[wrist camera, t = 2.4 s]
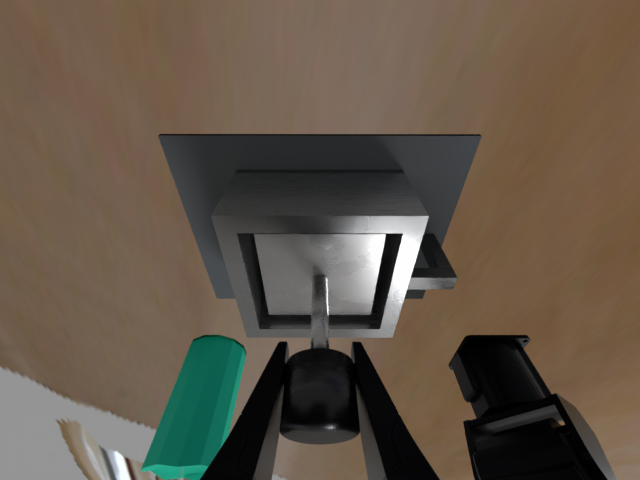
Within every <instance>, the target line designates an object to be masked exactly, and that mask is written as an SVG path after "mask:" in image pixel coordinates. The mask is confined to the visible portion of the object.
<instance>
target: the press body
mask: <svg viewBox="0 0 640 480" xmlns="http://www.w3.org/2000/svg"><path fill="white" fill-rule="evenodd" d="M211 218H212V221H213V225H214V228H215V232H216V235H217V238H218V242H219V245H220V248H221V252H222V255H223V259H224V262H225V265H226V269H227V272H228V275H229V279H230V282H231V286H232V289H233V292H234V296H235V299H236V302H237V306H238V309H239V313H240V316H241V319H242V323H243V326H244V329H245V333H246V336H247V338H311V315H269V312H268V306H267V301H266V296H265V290H264V285H263V280H262V274H261V269H260V264H259V259H258V253H257V248H256V243H255V237H254V233H386V236H385V241H384V247H383V252H382V257H381V262H380V268H379V273H378V278H377V283H376V289H375V294H374V299H373V304H372V310H371V315H328V316H329V338H393V335H394V331H395V328H396V325H397V321H398V318H399V315H400V311H401V308H402V305H403V301H404V298H405V294H406V291H407V289H453V287H454V285H455V283H456V281H457V278H458V277H457V275H456V274H455V272H454V270H453V268H452V266H451V264H450V262H449V261H448V259H447V257H446V255H445V253H444V251H443V249H442V248H441V246H440V244H439V242H438V240H437V238H436V236H435V234H434V233H424V231H425V228H426V224H427V221H428V218H429V215H428V213H427V212H426V210H425V208H424V206H423V205H422V203H421V201H420V199H419V197H418V196H417V194H416V192H415V190H414V188H413V187H412V185H411V183H410V181H409V179H408V178H407V176H406V174H405V172H404V171H403V170H236V172H235V174H234V175H233V177H232V179H231V181H230V183H229V184H228V186H227V188H226V190H225V191H224V193H223V195H222V197H221V199H220V200H219V202H218V204H217V206H216V208H215V209H214V211H213V213H212V215H211ZM419 248H421V250H422V252H423V254H424V257H425V259H426V261H427V263H428V266H429V268H414V264H415V261H416V258H417V254H418V251H419Z"/></svg>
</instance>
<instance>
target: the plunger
mask: <svg viewBox="0 0 640 480" xmlns="http://www.w3.org/2000/svg"><path fill="white" fill-rule="evenodd" d="M385 236H386V233H254V237H255V243H256V248H257V253H258V259H259V264H260V269H261V274H262V280H263V285H264V290H265V296H266V301H267V306H268V312H269V315H311V340H310V349H306V350H302V351H299V352H297V353H295V354H293V355H292V356H291V357H289V359H288V360H287V362H286V370H285V380H284V390H283V400H282V411H281V421H280V434H281V435H282V436H283V437H285V438H287V439H289V440H291V441H295V442H299V443H304V444H316V445H324V444H335V443H341V442H345V441H348V440H351V439H353V438H355V437H356V436H358V435H359V433H360V423H359V413H358V403H357V393H356V383H355V373H354V363H353V361H352V359H351V358H350V357H349V356H348V355H346V354H345V353H343V352H340V351H337V350H334V349H329V316H328V315H371V310H372V304H373V299H374V294H375V289H376V283H377V278H378V273H379V268H380V262H381V257H382V252H383V247H384V241H385Z"/></svg>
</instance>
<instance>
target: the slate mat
mask: <svg viewBox="0 0 640 480" xmlns="http://www.w3.org/2000/svg"><path fill="white" fill-rule="evenodd" d="M481 137H482V136H481V135H480V134H159V135H158V138H159V140H160V143H161V146H162V149H163V151H164V154H165V157H166V160H167V162H168V165H169V168H170V171H171V173H172V176H173V179H174V182H175V185H176V187H177V190H178V193H179V196H180V198H181V201H182V204H183V207H184V209H185V212H186V215H187V218H188V220H189V223H190V226H191V229H192V231H193V234H194V237H195V240H196V243H197V245H198V248H199V251H200V254H201V256H202V259H203V262H204V265H205V267H206V270H207V273H208V276H209V278H210V281H211V284H212V287H213V289H214V292H215V295H216V298H217V299H235V296H234V292H233V289H232V286H231V282H230V279H229V275H228V272H227V269H226V265H225V262H224V259H223V255H222V252H221V248H220V245H219V242H218V238H217V235H216V232H215V228H214V225H213V221H212V218H211V215H212V213H213V211H214V209H215V208H216V206H217V204H218V202H219V200H220V199H221V197H222V195H223V193H224V191H225V190H226V188H227V186H228V184H229V183H230V181H231V179H232V177H233V175H234V174H235V172H236V170H403V171H404V172H405V174H406V176H407V178H408V179H409V181H410V183H411V185H412V187H413V188H414V190H415V192H416V194H417V196H418V197H419V199H420V201H421V203H422V205H423V206H424V208H425V210H426V212H427V213H428V215H429V218H428V221H427V224H426V228H425V231H424V233H434V234H435V236H436V238H437V240H438V242H439V244H440V246H441V247H442V244H443V241H444V239H445V236H446V233H447V230H448V228H449V225H450V222H451V219H452V217H453V214H454V211H455V208H456V206H457V203H458V200H459V198H460V195H461V192H462V189H463V187H464V184H465V181H466V178H467V176H468V173H469V170H470V167H471V165H472V162H473V159H474V156H475V154H476V151H477V148H478V145H479V143H480V140H481ZM414 268H429V266H428V263H427V261H426V259H425V257H424V254H423V252H422V250H421V248H419V251H418V254H417V258H416V261H415V264H414ZM425 291H426V289H407V291H406V294H405V298H404V299H423V296H424V294H425Z"/></svg>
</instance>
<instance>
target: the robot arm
mask: <svg viewBox="0 0 640 480" xmlns="http://www.w3.org/2000/svg"><path fill="white" fill-rule="evenodd" d="M530 341H531V339H530V338H529V336H528V335H468V336H465V337H464V339H463V341H462V342H461V344H460V346H459V347H458V349H457V351H456V352H455V354H454V356H453V357H452V359H451V361H450V363H449V364H448V366H449V369H450V370H453V371H454V374H455V377H456V379H457V382H458V384H459V387H460V390H461V392H462V395H463V397H464V400H465V401H466V402H470V403H471V406H472V409H473V411H474V414H475V416H476V419H472V420H465V421H463V424H464V429H465V436H466V441H467V446H468V451H469V456H470V461H471V466H472V471H473V476H474V479H475V480H617V479H616V477H615V475H614V472H613V470H612V468H611V466H610V464H609V462H608V460H607V458H606V456H605V453H604V451H603V449H602V447H601V445H600V443H599V441H598V439H597V437H596V435H595V433H594V432H593V430H592V429H591V428H590V426H589V425H588V423H587V422H586V421H585V419H584V418H583V416H582V415H581V414H580V412H579V411H578V410H577V408H576V407H575V406H574V405H572V404H571V403H569V402H568V401H567V400H565V399H564V398H563V397H561V396H560V395H559V394H557V393H554V394H552V393H551V392H550V390H549V389H548V387H547V385H546V384H545V382H544V381H543V379H542V377H541V376H540V374H539V373H538V371H537V369H536V368H535V366H534V364H533V363H532V361H531V360H530V358H529V356H528V355H527V353H526V352H525V350H524V348H525V347H526V345H527V344H528V343H529V342H530ZM288 359H289V348H288V342H287V341H280V342H279V343H278V344H277V346H276V348H275V350H274V352H273V354H272V355H271V357H270V359H269V361H268V363H267V365H266V367H265V369H264V371H263V372H262V374H261V376H260V378H259V380H258V382H257V384H256V386H255V388H254V389H253V391H252V393H251V395H250V397H249V399H248V401H247V403H246V405H245V406H244V408H243V410H242V412H241V414H242V415H241V414H240V416H239V418H238V419H237V421H236V423H235V425H234V427H233V429H232V430H231V432H230V434H229V436H228V437H227V439H226V440H225V442H224V444H223V445H222V447H221V448H220V450H219V451H218V453H217V454H216V456H215V457H214V459H213V460H212V462H211V463H210V465H209V466H208V468H207V469H206V471H205V472H204V474H203V475H202V477H201V478H200V480H272V475H273V469H274V463H275V457H276V451H277V445H278V439H279V433H280V421H281V411H282V400H283V390H284V380H285V370H286V362H287V360H288ZM351 359H352V361H353V363H354V373H355V383H356V393H357V403H358V413H359V423H360V434H361V440H362V446H363V452H364V458H365V464H366V470H367V476H368V480H440V479H439V477H438V476H437V474H436V473H435V471H434V470H433V468H432V467H431V465H430V464H429V462H428V461H427V459H426V458H425V456H424V455H423V453H422V452H421V450H420V449H419V447H418V446H417V444H416V442H415V441H414V439H413V438H412V436H411V434H410V433H409V431H408V429H407V427H406V425H405V424H404V422H403V420H402V418H401V416H400V415H399V413H398V411H397V409H396V407H395V405H394V403H393V401H392V399H391V397H390V396H389V394H388V392H387V390H386V388H385V386H384V384H383V382H382V380H381V379H380V377H379V375H378V373H377V371H376V369H375V367H374V365H373V363H372V362H371V360H370V358H369V356H368V354H367V352H366V350H365V348H364V346H363V345H362V343H361V342H360V341H353V342H352V346H351ZM559 421H564V423H565V425H562V426H561V425H560V424H559V423H558V422H559Z"/></svg>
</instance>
